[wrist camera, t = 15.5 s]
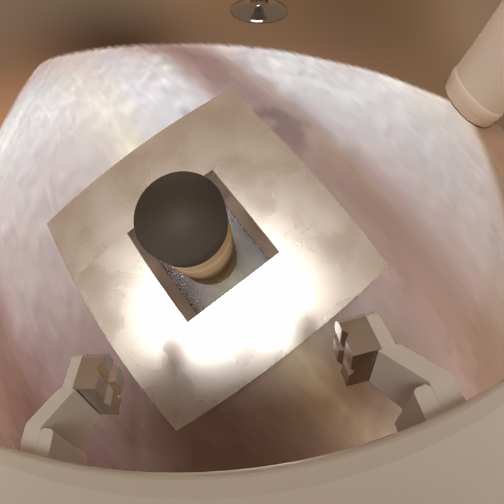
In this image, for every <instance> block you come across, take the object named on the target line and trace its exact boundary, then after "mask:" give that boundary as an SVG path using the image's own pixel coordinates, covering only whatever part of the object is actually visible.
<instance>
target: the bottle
mask: <svg viewBox="0 0 504 504" xmlns="http://www.w3.org/2000/svg"><path fill="white" fill-rule="evenodd" d="M445 89H446V92H447V95H448V97H449V99H450V101H451V102H452V104H453V105H454V107H455V108H456V109H457V110H458V111H459V113H460V114H461V115H463V116H464V117H465V118H466V119H467V120H468V121H470V122H472V123H473V124H475V125H477V126H480V127H484V128H485V127H488V126H490V125H491V124H492V123H494V122H496V121H497V120H498V119H499V118H500V117H501V116H502V115H503V113H504V0H503V1H502V2H501V4H500V5H499V7H498V8H497V10H496V11H495V13H494V14H493V16H492V17H491V19H490V20H489V21H488V23H487V24H486V26H485V27H484V29H483V30H482V32H481V33H480V35H479V36H478V37H477V39H476V40H475V42H474V43H473V44H472V46H471V47H470V48H469V50H468V51H467V53H466V54H465V55H464V57H463V58H462V59H461V61H460V62H459V64H458V65H457V66H455V68H454V69H453V70H452V71H451V73H450V75H449V77H448V78H447V80H446V81H445Z"/></svg>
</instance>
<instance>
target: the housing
mask: <svg viewBox="0 0 504 504" xmlns="http://www.w3.org/2000/svg"><path fill="white" fill-rule="evenodd" d="M178 171H188V172H194V173H198V174H200V175H203V176H205V177H206V178H208V179H209V180H211V181H212V182H213V183H214V184H215V185H216V186H217V188H218V189H219V191H220V192H221V194H222V196H223V199H224V203H225V206H226V207H227V208H228V209H229V211H230V212H231V213H232V214H233V216H234V217H235V218H236V219H237V221H238V222H239V223H240V224H241V226H242V227H243V228H244V229H245V231H246V232H247V233H248V234H249V236H250V237H251V238H252V239H253V241H254V242H255V243H256V244H257V246H258V247H259V248H260V249H261V251H262V252H263V253H264V254H265V256H266V257H267V258H268V259H269V261H268V262H266V263H265V264H264V265H262V266H261V267H260V268H259V269H257V270H256V271H255V272H253V273H252V274H251V275H249V276H248V277H247V278H246V279H244V280H243V281H242V282H240V283H239V284H238V285H236V286H235V287H234V288H232V289H231V290H230V291H229V292H227V293H226V294H225V295H223V296H222V297H221V298H219V299H218V300H217V301H215V302H214V303H213V304H211V305H210V306H209V307H207V308H206V309H205V310H204V311H202V312H201V313H200V314H198V315H197V313H196V312H195V311H194V309H193V308H192V307H191V305H190V304H189V302H188V301H187V300H186V298H185V297H184V296H183V294H182V293H181V291H180V290H179V289H178V287H177V286H176V284H175V283H174V282H173V280H172V279H171V277H170V276H169V274H168V273H167V272H166V270H165V269H164V267H163V266H162V264H161V263H160V261H159V260H158V259H157V258H155V257H154V256H152V255H151V254H149V253H148V252H147V251H146V250H145V249H144V248H143V247H142V245H141V244H140V242H139V241H138V239H137V236H136V234H135V230H134V211H135V207H136V204H137V202H138V200H139V198H140V196H141V194H142V193H143V192H144V190H145V189H146V188H147V187H148V186H149V185H150V184H151V183H152V182H154V181H155V180H156V179H158V178H160V177H162V176H164V175H166V174H169V173H173V172H178ZM47 225H48V227H49V229H50V232H51V234H52V236H53V238H54V241H55V243H56V245H57V247H58V250H59V252H60V254H61V256H62V258H63V260H64V262H65V264H66V266H67V268H68V270H69V272H70V274H71V276H72V278H73V280H74V282H75V284H76V286H77V288H78V290H79V291H80V293H81V295H82V297H83V299H84V300H85V302H86V304H87V306H88V308H89V309H90V311H91V313H92V314H93V316H94V318H95V320H96V321H97V323H98V325H99V326H100V328H101V329H102V331H103V333H104V334H105V336H106V337H107V339H108V341H109V342H110V344H111V345H112V347H113V348H114V350H115V351H116V353H117V354H118V356H119V357H120V359H121V360H122V362H123V363H124V365H125V366H126V367H127V369H128V370H129V372H130V373H131V374H132V376H133V377H134V379H135V380H136V381H137V383H138V384H139V385H140V387H141V388H142V389H143V391H144V392H145V393H146V395H147V396H148V397H149V398H150V400H151V401H152V402H153V404H154V405H155V406H156V407H157V409H158V410H159V411H160V412H161V413H162V415H163V416H164V417H165V418H166V420H167V421H168V422H169V423H170V424H171V425H172V427H173V428H174V429H175V430H176V431H177V430H179V429H181V428H182V427H184V426H185V425H187V424H189V423H190V422H192V421H193V420H195V419H197V418H198V417H200V416H201V415H203V414H204V413H206V412H207V411H209V410H210V409H212V408H213V407H215V406H216V405H218V404H219V403H221V402H222V401H224V400H225V399H227V398H228V397H230V396H231V395H233V394H234V393H235V392H237V391H238V390H240V389H241V388H243V387H244V386H245V385H247V384H248V383H250V382H251V381H252V380H254V379H255V378H257V377H258V376H259V375H261V374H262V373H263V372H265V371H266V370H267V369H269V368H270V367H271V366H273V365H274V364H275V363H277V362H278V361H279V360H281V359H282V358H283V357H284V356H286V355H287V354H288V353H290V352H291V351H292V350H293V349H295V348H296V347H297V346H298V345H300V344H301V343H302V342H303V341H305V340H306V339H307V338H308V337H310V336H311V335H312V334H313V333H314V332H316V331H317V330H318V329H319V328H320V327H322V326H323V325H324V324H325V323H326V322H328V321H329V320H330V319H331V318H332V317H333V316H335V315H336V314H337V313H338V312H339V311H340V310H341V309H343V308H344V307H345V306H346V305H347V304H348V303H349V302H351V301H352V300H353V299H354V298H355V297H356V296H357V295H358V294H359V293H360V292H362V291H363V290H364V289H365V288H366V287H367V286H368V285H369V284H370V283H371V282H372V281H373V280H374V279H376V278H377V277H378V276H379V275H380V274H381V273H382V272H383V271H384V270H385V269H386V268H387V267H388V264H387V263H386V262H385V260H384V259H383V258H382V256H381V255H380V254H379V252H378V251H377V250H376V248H375V247H374V246H373V245H372V243H371V242H370V241H369V239H368V238H367V237H366V236H365V234H364V233H363V232H362V231H361V229H360V228H359V227H358V226H357V224H356V223H355V222H354V221H353V219H352V218H351V217H350V216H349V215H348V213H347V212H346V211H345V210H344V209H343V207H342V206H341V205H340V204H339V203H338V202H337V200H336V199H335V198H334V197H333V196H332V195H331V193H330V192H329V191H328V190H327V189H326V188H325V186H324V185H323V184H322V183H321V182H320V181H319V180H318V179H317V177H316V176H315V175H314V174H313V173H312V172H311V171H310V170H309V169H308V167H307V166H306V165H305V164H304V163H303V162H302V161H301V160H300V159H299V158H298V157H297V156H296V154H295V153H294V152H293V151H292V150H291V149H290V148H289V147H288V146H287V145H286V144H285V143H284V142H283V141H282V140H281V139H280V138H279V137H278V136H277V135H276V134H275V133H274V132H273V131H272V130H271V129H270V128H269V127H268V126H267V125H266V124H265V123H264V122H263V121H262V120H261V119H260V118H259V117H258V116H257V115H256V114H255V113H254V112H253V111H252V110H251V109H250V108H249V107H248V106H247V105H246V104H245V103H244V102H243V101H242V100H241V99H240V98H238V97H237V96H236V95H235V94H234V93H233V92H232V91H231V90H228V91H226V92H224V93H222V94H221V95H219V96H217V97H215V98H214V99H212V100H210V101H208V102H207V103H205V104H203V105H202V106H200V107H198V108H197V109H195V110H193V111H192V112H190V113H188V114H187V115H185V116H184V117H182V118H181V119H179V120H177V121H176V122H174V123H173V124H171V125H170V126H168V127H167V128H165V129H164V130H162V131H161V132H159V133H158V134H156V135H155V136H153V137H152V138H151V139H149V140H148V141H146V142H145V143H143V144H142V145H141V146H139V147H138V148H136V149H135V150H134V151H132V152H131V153H130V154H128V155H127V156H126V157H124V158H123V159H122V160H120V161H119V162H118V163H116V164H115V165H114V166H113V167H111V168H110V169H109V170H108V171H106V172H105V173H104V174H103V175H101V176H100V177H99V178H98V179H96V180H95V181H94V182H93V183H92V184H90V185H89V186H88V187H87V188H86V189H85V190H83V191H82V192H81V193H80V194H79V195H78V196H76V197H75V198H74V199H73V200H72V201H71V202H70V203H69V204H68V205H66V206H65V207H64V208H63V209H62V210H61V211H60V212H59V213H58V214H57V215H56V216H55V217H54V218H53V219H51V220H50V221H49V222H48V223H47Z"/></svg>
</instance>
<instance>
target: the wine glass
mask: <svg viewBox="0 0 504 504" xmlns="http://www.w3.org/2000/svg"><path fill="white" fill-rule="evenodd" d="M230 12H231V14H232V15H233V16H234V17H235V18H237V19H239V20H242V21H246V22H250V23H270V22H275V21H279V20H281V19H283V18H284V17H285V16H286V15H287V13H288V10H287V8H286V6H285V5H284V4H283V3H281V2H279V1H277V0H239V1H237V2H235V3H234V4H233V5H232V6H231V8H230Z"/></svg>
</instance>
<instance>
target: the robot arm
mask: <svg viewBox="0 0 504 504" xmlns="http://www.w3.org/2000/svg"><path fill="white" fill-rule="evenodd" d="M334 329H335V331H336V335H335V336H334V338H333V346H334V352H335V356H336V359H337V362H339V363H340V364H342V369H341V373H342V375H343V378H344V381H345V383H346V386H350V385H354V384H358V383H361V382H365V381H369V382H370V383H371V384H372V385H374V386H375V387H376V388H377V389H378V390H380V391H381V392H382V393H383V394H385V395H386V396H387V397H389V398H390V399H391V400H392V401H394V402H395V403H396V404H397V405H399V406H400V407H401V408H402V409H403V411H402V412H401V414H400V415H399V417H398V419H397V420H396V422H395V425H396V428H397V430H398V432H397V433H394V434H391V435H389V436H386V437H383V438H380V439H377V440H374V441H371V442H368V443H365V444H362V445H358V446H355V447H351V448H348V449H344V450H341V451H337V452H333V453H329V454H325V455H321V456H317V457H312V458H308V459H303V460H298V461H293V462H287V463H282V464H276V465H269V466H262V467H255V468H246V469H237V470H225V471H210V472H144V471H129V470H118V469H109V468H101V467H94V466H87V462H88V457H87V455H86V454H85V453H83V452H82V451H80V450H79V449H78V448H79V446H80V445H81V443H82V442H83V440H84V439H85V437H86V436H87V435H88V433H89V432H90V430H91V429H92V427H93V426H94V424H95V423H96V421H97V420H98V419H99V417H100V416H101V415H100V414H119V410H120V404H121V399H120V397H119V394H120V393H121V391H122V390H123V385H124V381H123V375H122V372H121V370H120V369H119V367H117V366H116V365H114V364H112V362H113V359H112V358H111V356H110V355H109V354H85V355H74V356H73V357H72V359H71V361H70V364H69V367H68V370H67V374H66V377H65V380H64V383H63V386H62V389H58V390H57V391H56V392H55V393H54V394H53V395H52V396H51V397H50V398H49V399H48V401H47V402H46V403H45V404H44V405H43V406H42V407H41V408H40V409H39V410H38V411H37V412H36V413H35V414H34V415H33V416H32V418H31V419H30V420H29V421H28V422H27V423H26V425H25V429H24V432H23V436H22V440H21V444H20V448H19V450H17V449H14V448H10V447H7V446H4V445H1V444H0V504H504V379H503V380H502V381H500V382H499V383H497V384H495V385H494V386H492V387H490V388H489V389H487V390H485V391H484V392H482V393H480V394H478V395H477V396H475V397H473V398H471V399H469V400H467V401H466V400H465V398H464V396H463V394H462V392H461V390H460V389H459V387H458V385H457V383H456V381H455V380H454V378H453V376H452V374H451V373H450V372H448V371H447V370H445V369H443V368H441V367H440V366H438V365H436V364H434V363H433V362H431V361H429V360H427V359H426V358H424V357H422V356H420V355H419V354H417V353H415V352H413V351H412V350H410V349H408V348H406V347H405V346H403V345H401V344H397V345H396V343H395V342H394V340H393V338H392V336H391V334H390V333H389V331H388V329H387V327H386V325H385V324H384V322H383V320H382V318H381V317H380V315H379V313H377V312H372V313H368V314H364V315H359V316H355V317H351V318H347V319H343V320H339V321H336V322H335V327H334Z"/></svg>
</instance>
